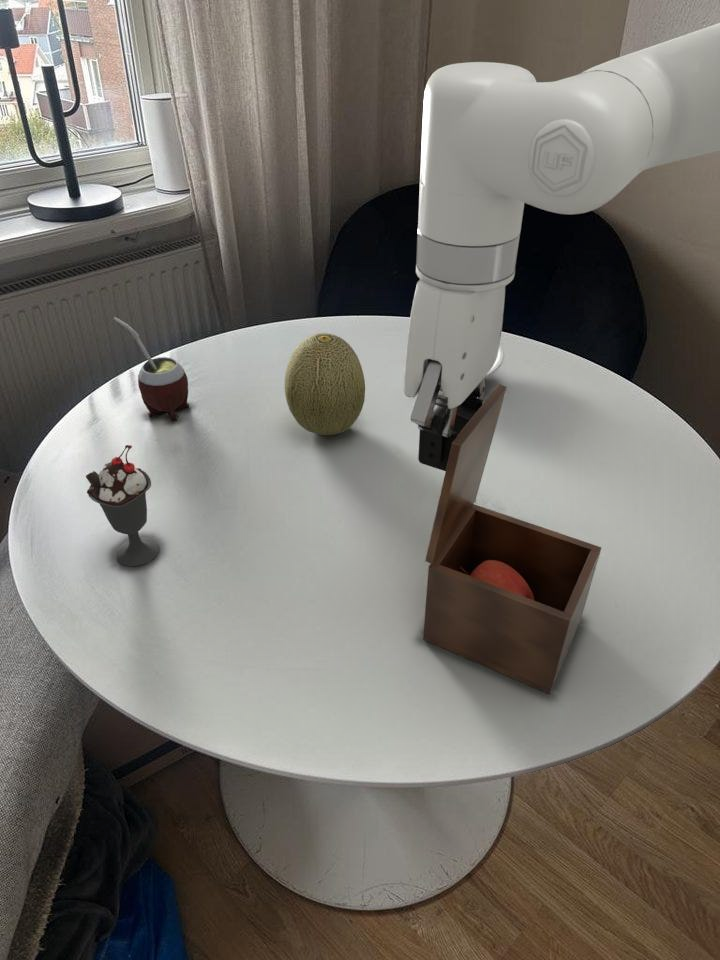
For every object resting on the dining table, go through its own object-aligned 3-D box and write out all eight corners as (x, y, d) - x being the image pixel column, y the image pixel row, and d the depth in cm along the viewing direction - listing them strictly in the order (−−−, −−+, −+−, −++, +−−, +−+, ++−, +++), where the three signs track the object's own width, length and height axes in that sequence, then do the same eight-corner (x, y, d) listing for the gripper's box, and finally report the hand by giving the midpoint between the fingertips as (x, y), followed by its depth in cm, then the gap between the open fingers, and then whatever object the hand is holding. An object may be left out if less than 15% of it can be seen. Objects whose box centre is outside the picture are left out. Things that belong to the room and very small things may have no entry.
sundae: (178, 545, 85) (155, 443, 75) (137, 579, 80) (107, 476, 71) (139, 525, 88) (112, 425, 78) (97, 558, 83) (63, 455, 74)
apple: (522, 636, 75) (453, 605, 77) (547, 573, 73) (476, 544, 76) (508, 655, 68) (433, 620, 71) (535, 586, 67) (458, 553, 69)
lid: (507, 386, 64) (459, 368, 65) (460, 446, 57) (408, 424, 58) (475, 501, 73) (434, 483, 75) (432, 564, 66) (387, 543, 68)
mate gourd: (198, 416, 107) (182, 325, 97) (146, 430, 104) (124, 338, 95) (184, 393, 112) (167, 305, 103) (134, 406, 109) (112, 316, 100)
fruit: (311, 460, 98) (305, 364, 89) (275, 422, 105) (266, 330, 96) (379, 435, 103) (381, 342, 93) (340, 400, 110) (338, 311, 101)
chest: (580, 620, 75) (601, 547, 69) (549, 694, 68) (570, 621, 61) (462, 575, 81) (471, 503, 74) (422, 639, 73) (428, 566, 67)
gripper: (464, 213, 60) (449, 395, 72) (368, 284, 49) (367, 487, 60) (550, 228, 57) (519, 415, 69) (468, 306, 46) (448, 516, 57)
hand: (449, 447), depth 64 cm, fingers closed on lid, 5 cm apart
